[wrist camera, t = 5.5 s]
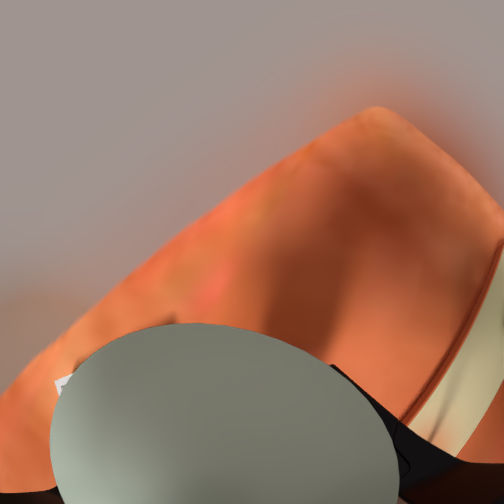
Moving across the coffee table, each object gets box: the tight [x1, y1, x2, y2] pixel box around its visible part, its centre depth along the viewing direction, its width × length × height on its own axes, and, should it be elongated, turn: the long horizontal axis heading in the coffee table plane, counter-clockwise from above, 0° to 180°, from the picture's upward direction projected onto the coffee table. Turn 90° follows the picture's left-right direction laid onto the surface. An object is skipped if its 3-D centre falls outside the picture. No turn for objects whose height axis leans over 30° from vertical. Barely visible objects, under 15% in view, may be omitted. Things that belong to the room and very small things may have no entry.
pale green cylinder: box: [50, 323, 399, 504], centre depth 8 cm, size 5×5×13 cm
